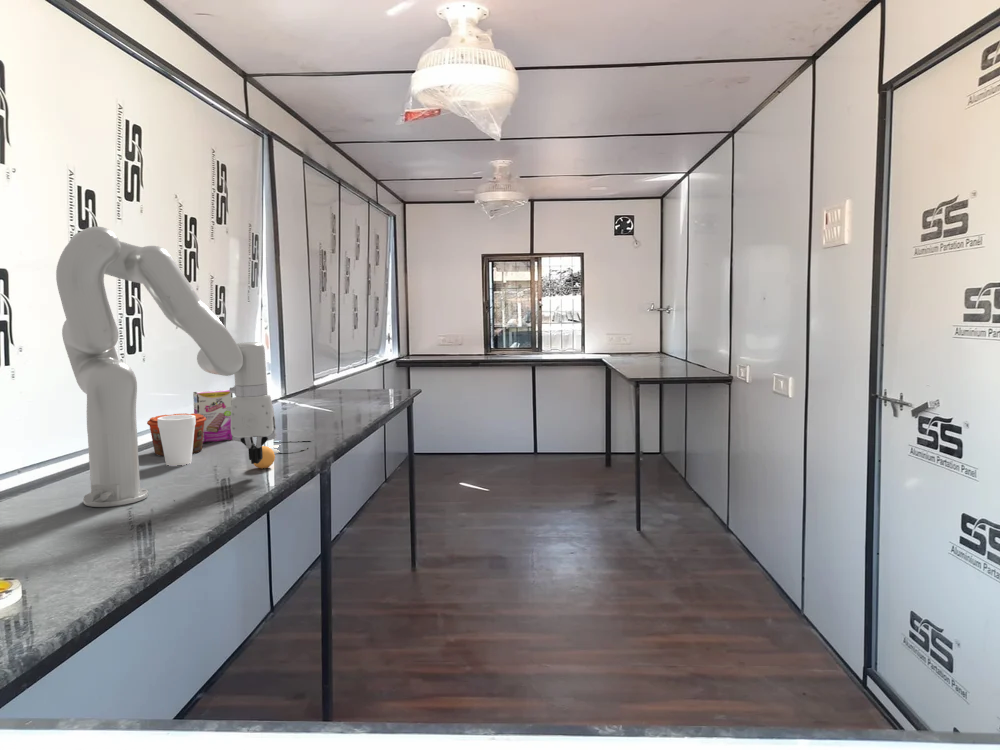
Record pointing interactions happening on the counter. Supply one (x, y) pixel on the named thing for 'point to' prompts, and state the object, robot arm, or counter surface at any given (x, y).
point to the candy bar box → (214, 414)
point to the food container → (197, 433)
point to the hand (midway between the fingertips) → (256, 462)
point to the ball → (266, 458)
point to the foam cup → (177, 438)
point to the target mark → (275, 449)
